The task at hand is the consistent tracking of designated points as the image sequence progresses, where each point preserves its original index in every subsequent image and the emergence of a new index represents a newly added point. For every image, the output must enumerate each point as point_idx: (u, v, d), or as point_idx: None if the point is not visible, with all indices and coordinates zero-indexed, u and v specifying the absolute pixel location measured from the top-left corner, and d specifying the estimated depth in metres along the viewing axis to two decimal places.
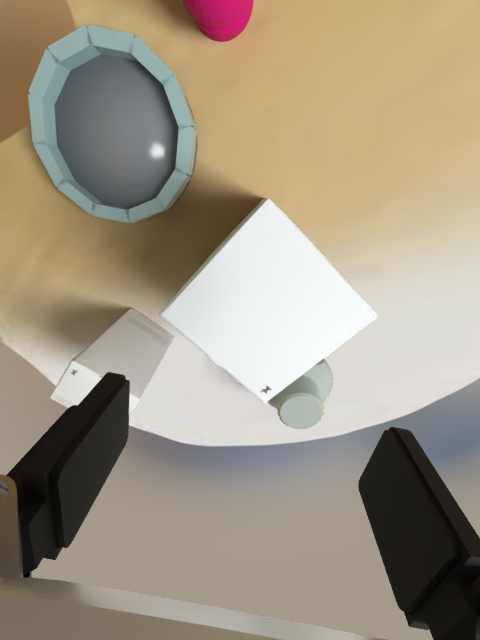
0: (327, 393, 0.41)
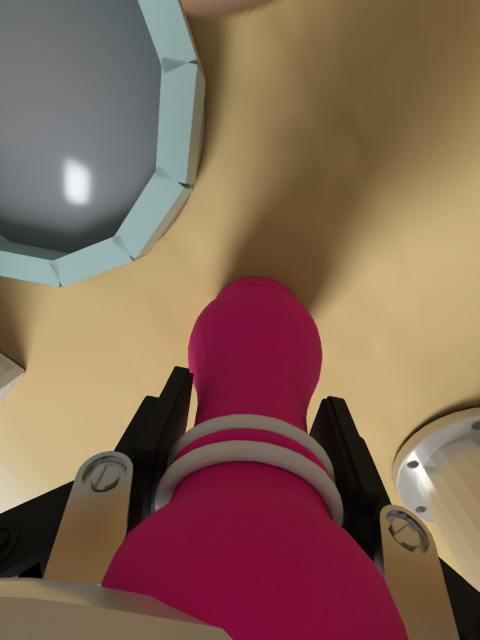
0: None
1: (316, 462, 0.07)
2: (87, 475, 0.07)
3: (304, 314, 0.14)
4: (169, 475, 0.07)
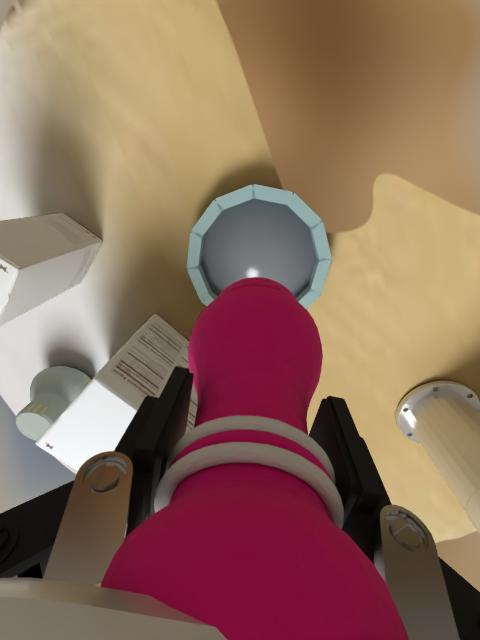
0: None
1: (316, 464, 0.07)
2: (87, 475, 0.07)
3: (304, 314, 0.14)
4: (168, 477, 0.07)
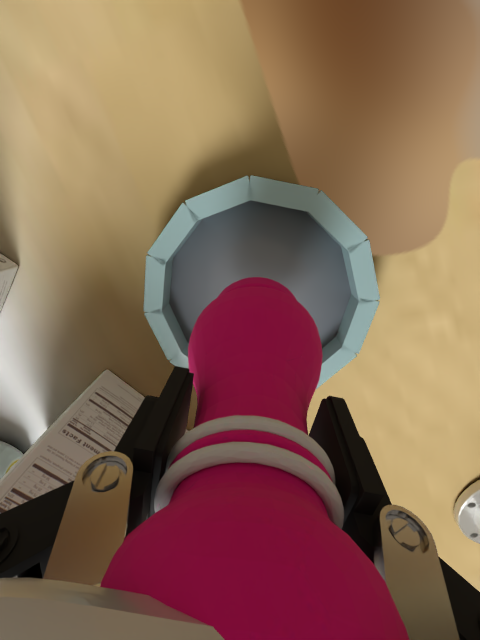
0: None
1: (316, 463, 0.07)
2: (87, 475, 0.07)
3: (304, 314, 0.14)
4: (168, 477, 0.07)
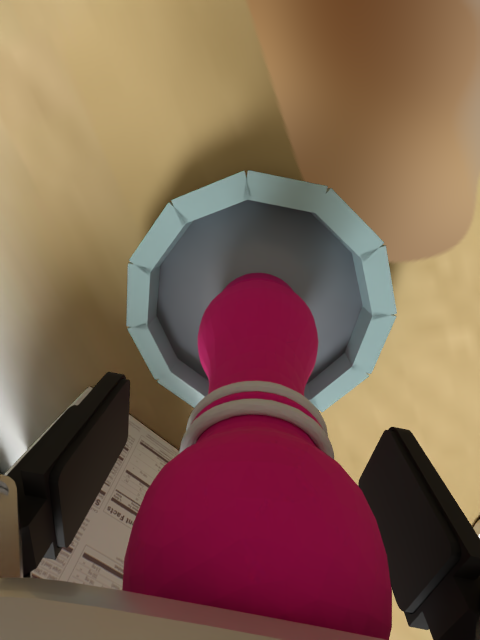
0: None
1: (311, 418, 0.09)
2: None
3: (302, 304, 0.16)
4: (192, 428, 0.09)
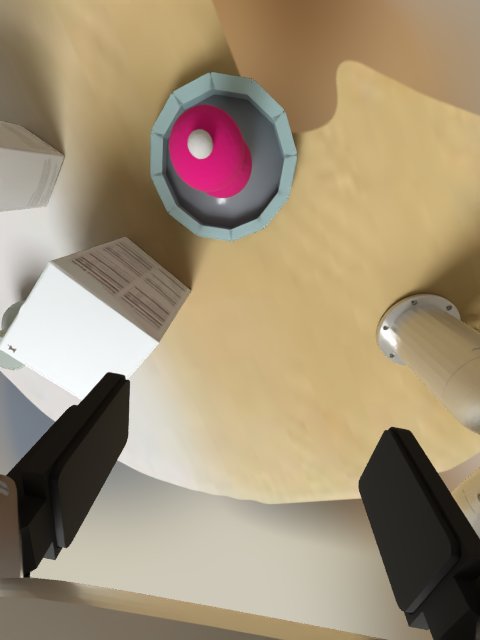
0: None
1: None
2: None
3: None
4: None
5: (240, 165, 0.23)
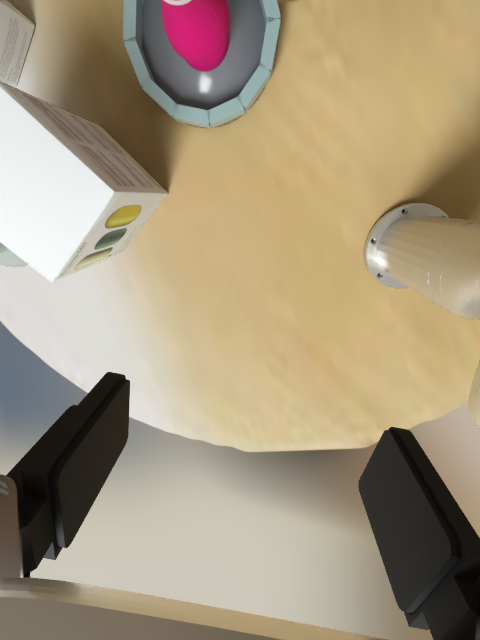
0: (1, 262, 0.44)
1: None
2: None
3: None
4: None
5: None
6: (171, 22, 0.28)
